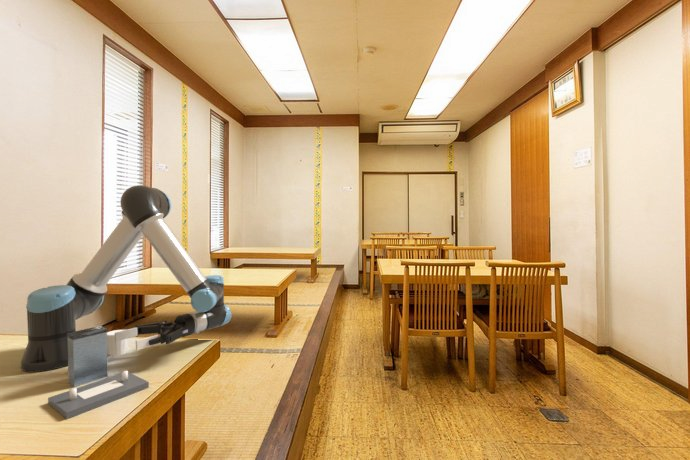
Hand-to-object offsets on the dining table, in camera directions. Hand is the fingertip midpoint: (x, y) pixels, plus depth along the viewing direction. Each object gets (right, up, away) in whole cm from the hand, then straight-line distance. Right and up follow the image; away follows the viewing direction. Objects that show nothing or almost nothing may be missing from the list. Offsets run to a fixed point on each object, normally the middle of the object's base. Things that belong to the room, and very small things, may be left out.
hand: (125, 341), depth 107 cm
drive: (-5, -8, -8) cm, 13 cm away
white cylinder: (-11, -8, +13) cm, 19 cm away
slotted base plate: (+4, -9, -17) cm, 19 cm away
